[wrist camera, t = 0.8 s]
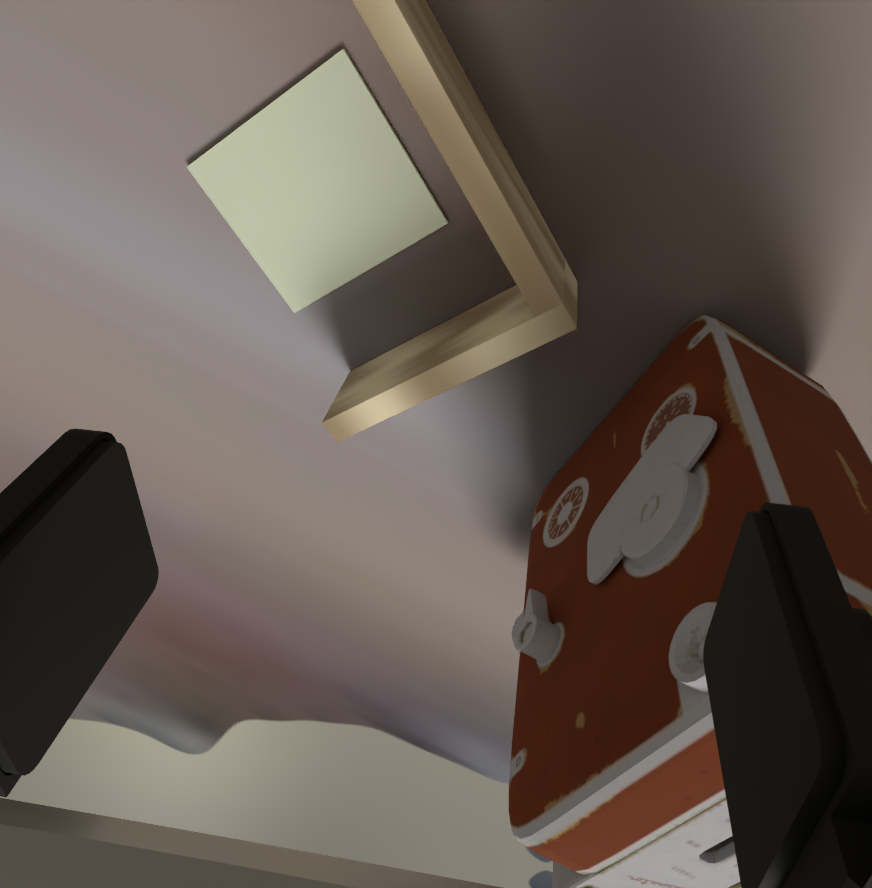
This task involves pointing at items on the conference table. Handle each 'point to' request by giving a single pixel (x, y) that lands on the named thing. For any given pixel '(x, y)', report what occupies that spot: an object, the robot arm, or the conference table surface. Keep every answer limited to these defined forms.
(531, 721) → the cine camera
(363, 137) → the pad
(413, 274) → the conference table surface
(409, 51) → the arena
